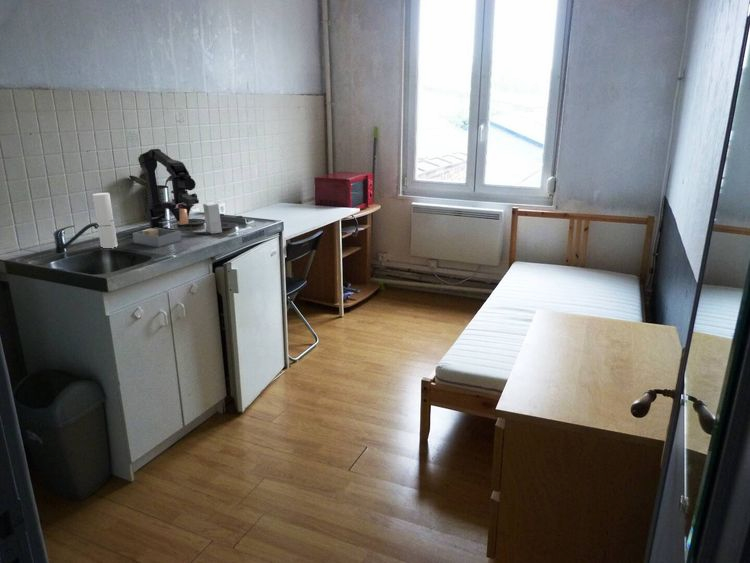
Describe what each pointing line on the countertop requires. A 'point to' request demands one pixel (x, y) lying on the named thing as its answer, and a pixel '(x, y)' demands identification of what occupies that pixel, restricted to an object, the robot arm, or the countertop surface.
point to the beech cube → (151, 232)
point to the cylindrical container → (105, 220)
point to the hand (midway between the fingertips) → (182, 220)
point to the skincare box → (212, 218)
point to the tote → (157, 238)
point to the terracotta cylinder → (183, 216)
